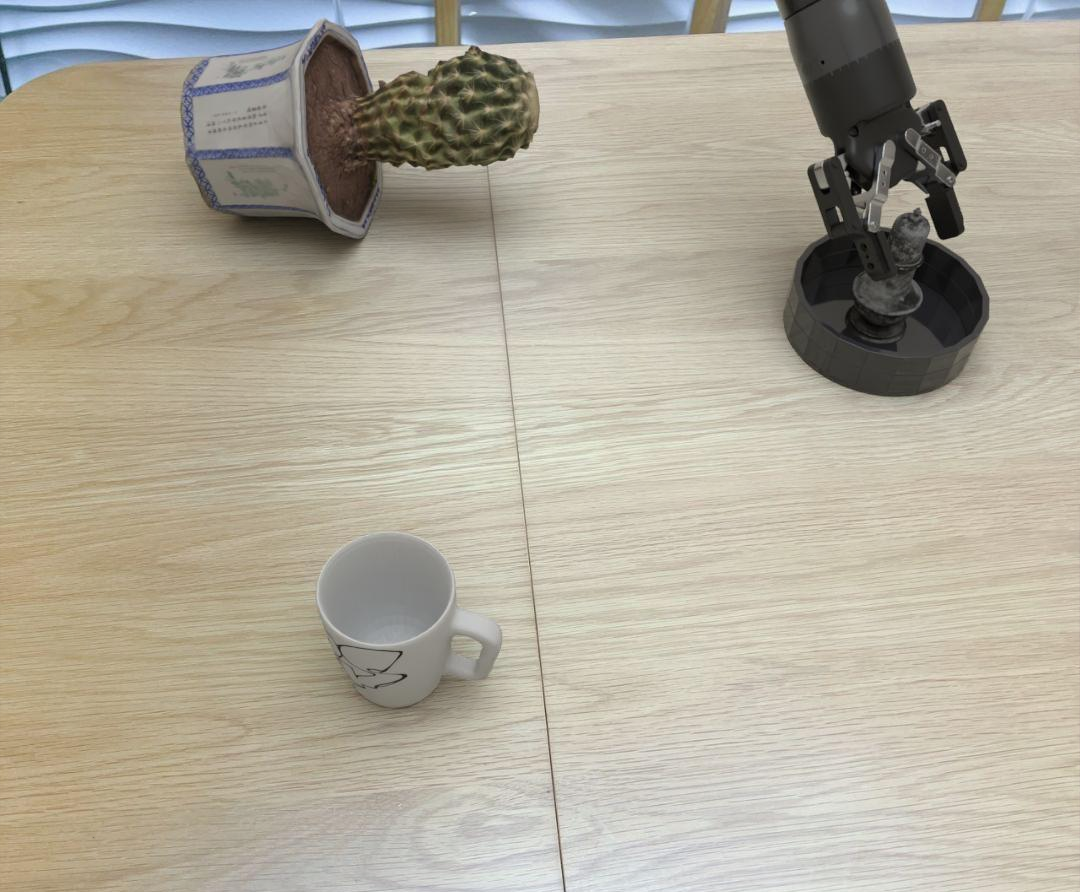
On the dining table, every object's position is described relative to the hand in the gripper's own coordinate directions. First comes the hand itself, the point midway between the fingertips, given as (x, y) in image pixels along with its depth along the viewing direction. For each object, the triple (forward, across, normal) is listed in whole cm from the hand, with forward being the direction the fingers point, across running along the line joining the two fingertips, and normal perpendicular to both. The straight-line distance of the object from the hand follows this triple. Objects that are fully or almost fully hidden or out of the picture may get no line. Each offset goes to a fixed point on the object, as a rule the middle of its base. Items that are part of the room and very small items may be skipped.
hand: (920, 257), depth 88 cm
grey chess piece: (+5, 0, +7) cm, 9 cm away
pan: (+5, 0, +7) cm, 9 cm away
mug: (+7, -51, +5) cm, 52 cm away
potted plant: (-22, -26, +35) cm, 49 cm away
